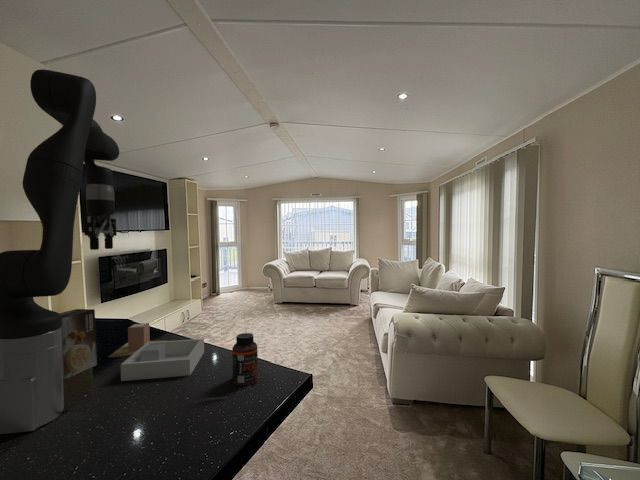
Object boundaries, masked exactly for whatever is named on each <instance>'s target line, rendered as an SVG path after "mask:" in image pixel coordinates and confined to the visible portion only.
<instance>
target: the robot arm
mask: <svg viewBox="0 0 640 480" xmlns="http://www.w3.org/2000/svg"><path fill="white" fill-rule="evenodd" d="M29 84H30V85H29V86H30V92H31V95H32V98H33V100H34V101H35V103H36V104H37V106H38V107H39V108H40V109H41V110H42V111H43V112H45V113H46V114H47V115H49V116H50V117H52V118H53V119H54V120H56V121H57V122H58V123H59V124H61V125H62V127H60V128H59V129H58V130H57V131H55V133H53V134H51V135H50V136H49V137H48V138H46V139H45V140H43V141H42V142H41V143H40V144H39V145H37V146H36V147H35V148H34V149H33V150H32V151H31V152H30V153H29V154H28V157H27V160H26V163H25V168H24V173H23V178H22V189H23V191H24V195H25V196H26V198H27V200H28V202H29V203H30V205H31V206H32V209H34V211H35V213H36V214H37V216H38V218H39V220H40V223H41V227H42V236H41V245H40V248H39V249H21V250H20V249H19V250H6V251H3V252H0V435H6V434H15V433H16V434H17V433H26V432H33V431H35V430H36V429H38V428H40V427H41V426H44V425H46V424H49V423H50V422H52V421H54V420H56V419H57V418H59V417H60V416H61V415H62V414H63V413H64V408H65V406H64V405H65V404H64V403H65V400H64V399H65V398H64V394H65V393H64V379H63V361H62V320H61V315H60V314H59V313H60V312H57V311H55V310H51V309H47V308H45V307H43V306H41V305H39V304H37V302H36V301H35V299H34V298H43V297H54V296H58V295H61V294H62V293H63V292H64V291H65V290H66V288H67V287H68V284H69V283H70V279H71V275H72V267H73V251H74V249H73V247H74V230H75V229H74V228H75V220H76V219H75V218H76V214H77V213H76V212H77V206H78V201H79V196H80V195H79V194H80V191H81V186H82V185H81V184H82V178H83V171H84V167H85V171H86V190H85V196H86V197H85V198H86V199H85V201H86V214H88V215H85V216H84V226H83V227H84V233H83V235H84V236H87V238H89V249H90V250H91V251H96V250H97V251H98V250H99V249H100V239H99V237H100V234H101V233H103V237H104V249H106V250H112V249H113V248H114V244H113V243H114V240H113V238H114V237H115V236H116V237H117V234H118V233H117V232H118V231H117V219H116V218H111V216H113V215H115V214H116V208H115V207H116V206H115V204H116V202H115V190H114V173H113V170H112V169H111V168H109V167H104V166H101V165H98V164H96V162H95V161H106V162H113V161H115V160H117V159H118V158H119V156H120V148H119V146H118V143H117V142H116V141H115V140H114V138H112V136H110V135H108V134H107V133H105V132H104V131H103V129H102V127H101V126H100V125H99V123H98V122H97V121H96V120H95V119H94V116H95V111H96V106H97V92H96V88H95V85H94V83H93V82H91V80H90V79H88V78H85V77H83V76H81V75H80V76H79V75H76V74H71V73H66V72H61V71H55V70H50V69H37V70H34V72H33V73H32V74H31V77H30V83H29Z"/></svg>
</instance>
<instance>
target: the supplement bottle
mask: <svg viewBox="0 0 640 480" xmlns="http://www.w3.org/2000/svg"><path fill="white" fill-rule="evenodd" d="M235 337H236V340H235V341H236V342H235V344H234V345H233V346H232V351H231V352H232V353H231V354H232V355H231V357H232V383H233V384H234V385H236V386H247V385H251V386H253V385H254V384H256V383H257V382H258V379H259V378H258V377H259V375H258V374H259V373H258V371H259V367H258V365H259V364H258V360H259V359H258V357H259V355H258V354H259V353H258V344H257V343H256V342H255V341H254V334H253V333H249V332H246V333H245V332H244V333H240V334H237V335H236V336H235Z"/></svg>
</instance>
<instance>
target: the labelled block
mask: <svg viewBox="0 0 640 480" xmlns="http://www.w3.org/2000/svg"><path fill="white" fill-rule="evenodd" d="M150 335H151V334H150V323H149V322H147V323H134V324H131V325H130V326H129V327H128V328H127V343H128V351H132V350H139V349H140V348H141V347H142V346H144V345H145V344H146V343H147V342H150V341H151V339H150Z"/></svg>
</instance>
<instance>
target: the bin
mask: <svg viewBox="0 0 640 480" xmlns="http://www.w3.org/2000/svg"><path fill="white" fill-rule="evenodd" d="M159 344H165V360H155V361H142V362H141V350H143V349H144V348H145V347H146V346H147V345H159ZM204 353H205V338H198V339H197V338H195V339H193V338H192V339H179V340H166V341H162V342H147V343H146V344H145V345H144V346H142V347H141V348H140V349H139V350H138V351H136V352H135V353H134V354H133V355H132V356H128V358H126V359H125V360H124V361H123V362H122V363H121V364H120V382H125V381H126V382H129V381H139V380H140V381H141V380H149V379H151V380H152V379H164V378H173V377H174V378H175V377H186V376H187V377H188V376H191V375H192V373H193V372H194V370H195V368H196V366H197V365H198V363H199V361H200V360H201V358H202V357H203V355H204Z"/></svg>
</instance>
